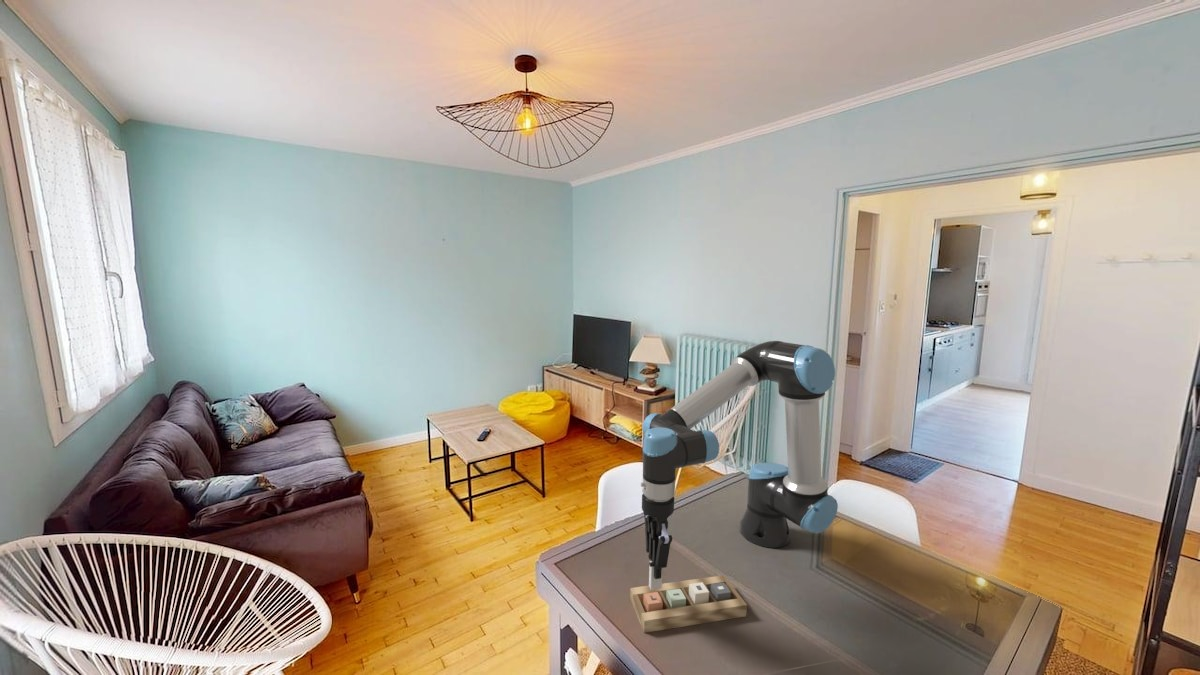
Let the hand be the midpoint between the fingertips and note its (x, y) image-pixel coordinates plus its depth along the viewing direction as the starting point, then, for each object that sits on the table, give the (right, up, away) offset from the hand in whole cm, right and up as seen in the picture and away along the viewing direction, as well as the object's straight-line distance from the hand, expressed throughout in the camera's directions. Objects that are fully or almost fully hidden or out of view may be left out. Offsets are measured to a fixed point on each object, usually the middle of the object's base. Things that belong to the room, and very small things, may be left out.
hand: (655, 586), depth 106 cm
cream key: (+11, -5, +3) cm, 13 cm away
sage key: (+5, -6, +2) cm, 8 cm away
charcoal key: (+17, -6, +5) cm, 18 cm away
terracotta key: (-1, -6, +1) cm, 6 cm away
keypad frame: (+8, -7, +3) cm, 11 cm away
